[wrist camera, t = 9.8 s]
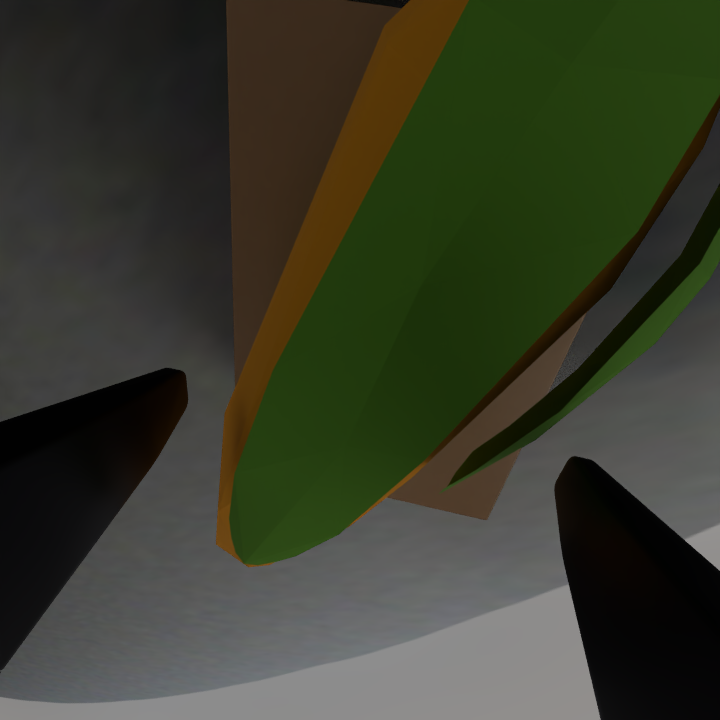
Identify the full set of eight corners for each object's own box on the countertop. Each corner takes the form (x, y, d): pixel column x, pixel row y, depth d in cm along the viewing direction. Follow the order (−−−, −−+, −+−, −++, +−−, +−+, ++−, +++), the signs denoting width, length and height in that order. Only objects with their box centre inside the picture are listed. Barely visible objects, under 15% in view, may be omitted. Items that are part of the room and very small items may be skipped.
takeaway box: (288, 28, 14) (224, -19, 10) (622, 79, 13) (713, 53, 9) (273, 400, 22) (236, 463, 18) (476, 444, 22) (487, 521, 17)
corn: (1664, -166, 2) (292, 729, 12) (766, 72, 9) (351, 528, 19) (597, -1120, 2) (80, 613, 12) (490, -122, 8) (216, 449, 18)
